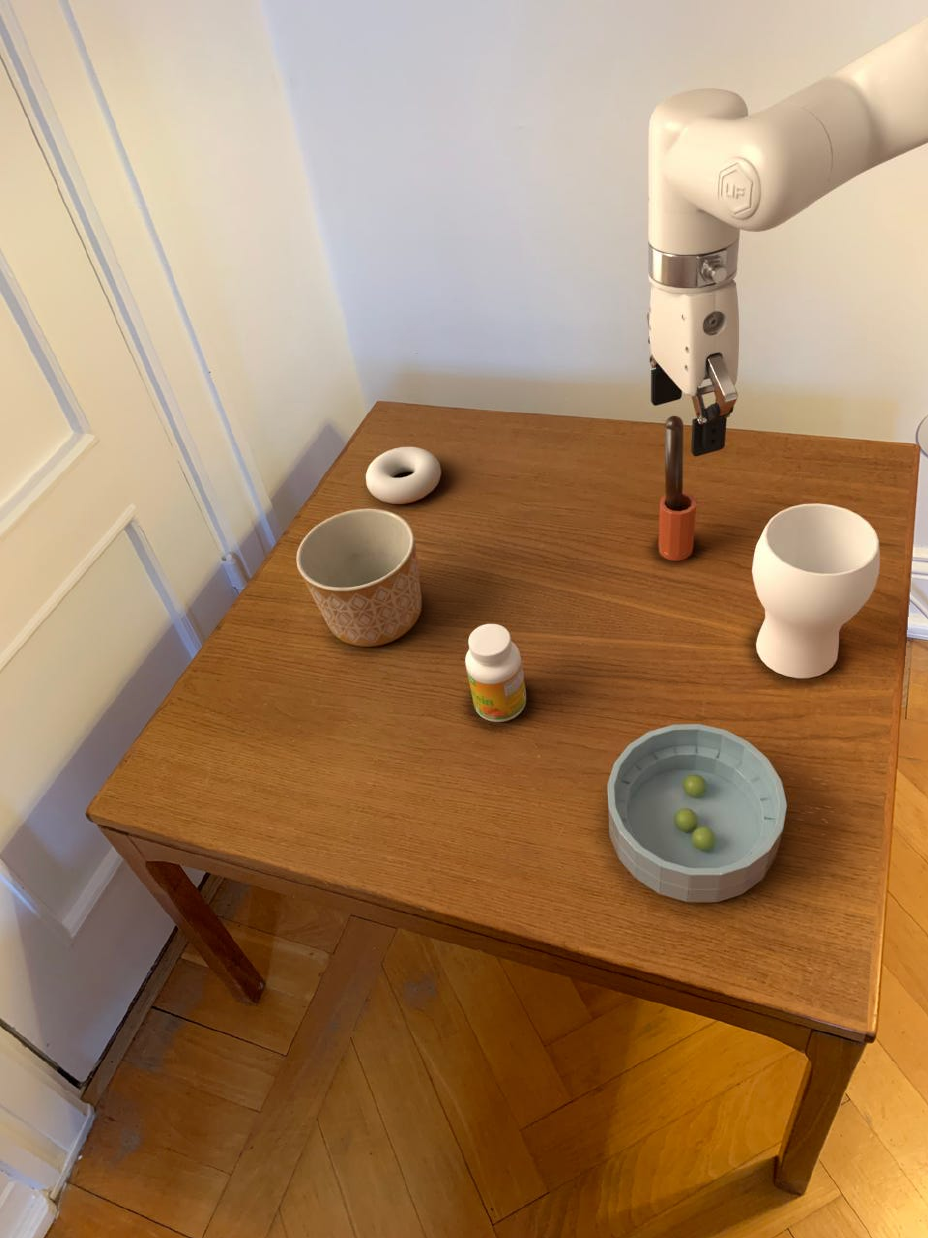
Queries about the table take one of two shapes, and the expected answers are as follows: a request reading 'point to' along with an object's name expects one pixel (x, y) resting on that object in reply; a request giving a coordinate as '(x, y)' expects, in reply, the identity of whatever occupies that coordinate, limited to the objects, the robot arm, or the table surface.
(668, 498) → the stick
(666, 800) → the bowl
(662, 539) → the holder
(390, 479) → the donut
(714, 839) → the pea
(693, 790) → the pea
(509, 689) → the supplement bottle
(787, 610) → the cup
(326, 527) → the planter
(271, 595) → the table surface
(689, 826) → the pea
